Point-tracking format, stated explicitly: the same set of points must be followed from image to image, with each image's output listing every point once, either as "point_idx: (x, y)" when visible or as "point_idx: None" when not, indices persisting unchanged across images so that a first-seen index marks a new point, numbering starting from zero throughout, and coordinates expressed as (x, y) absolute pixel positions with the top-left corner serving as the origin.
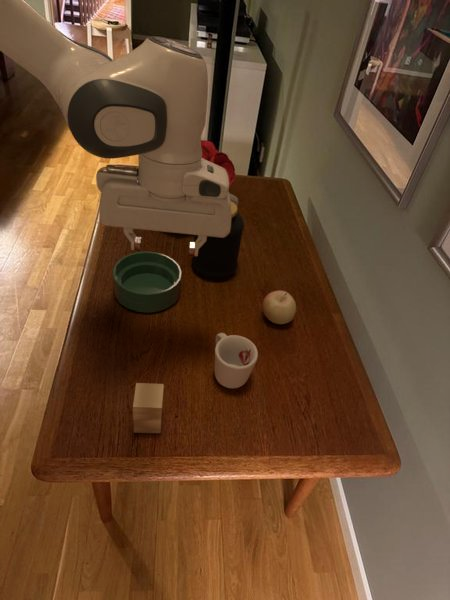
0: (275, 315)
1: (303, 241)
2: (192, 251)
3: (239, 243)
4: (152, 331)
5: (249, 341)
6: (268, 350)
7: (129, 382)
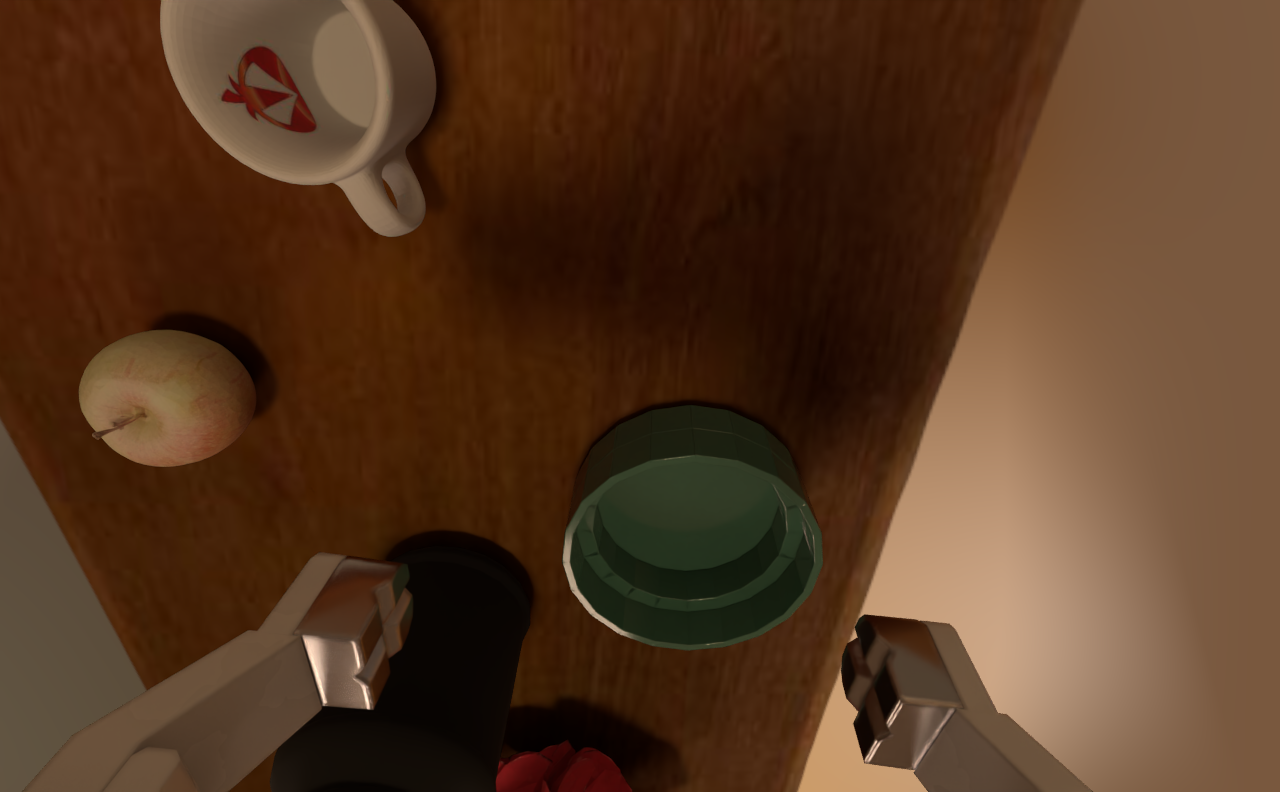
0: (176, 350)
1: None
2: (345, 598)
3: None
4: (679, 323)
5: (218, 134)
6: (229, 210)
7: (785, 66)
